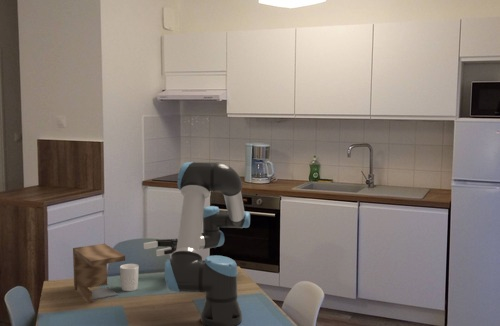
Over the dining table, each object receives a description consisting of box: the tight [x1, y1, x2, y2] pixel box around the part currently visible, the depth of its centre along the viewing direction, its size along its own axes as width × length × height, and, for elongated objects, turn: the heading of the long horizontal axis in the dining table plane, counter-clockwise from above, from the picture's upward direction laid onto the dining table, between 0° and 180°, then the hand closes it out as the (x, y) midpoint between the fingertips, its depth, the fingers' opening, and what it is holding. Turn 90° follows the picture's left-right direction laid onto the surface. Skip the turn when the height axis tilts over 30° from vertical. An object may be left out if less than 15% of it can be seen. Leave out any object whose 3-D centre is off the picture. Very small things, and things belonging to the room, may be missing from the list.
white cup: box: [119, 263, 139, 292], centre depth 239 cm, size 8×8×10 cm
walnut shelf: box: [72, 243, 126, 304], centre depth 232 cm, size 14×24×18 cm, turn 34°
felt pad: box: [89, 286, 119, 301], centre depth 232 cm, size 11×11×1 cm
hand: (150, 249), depth 243 cm, fingers open, 13 cm apart
